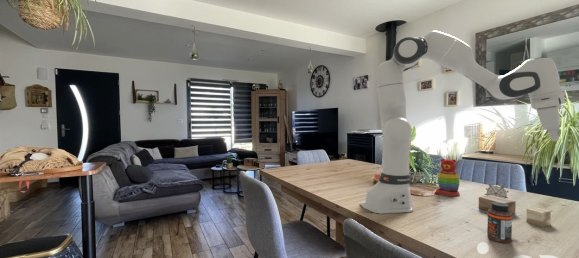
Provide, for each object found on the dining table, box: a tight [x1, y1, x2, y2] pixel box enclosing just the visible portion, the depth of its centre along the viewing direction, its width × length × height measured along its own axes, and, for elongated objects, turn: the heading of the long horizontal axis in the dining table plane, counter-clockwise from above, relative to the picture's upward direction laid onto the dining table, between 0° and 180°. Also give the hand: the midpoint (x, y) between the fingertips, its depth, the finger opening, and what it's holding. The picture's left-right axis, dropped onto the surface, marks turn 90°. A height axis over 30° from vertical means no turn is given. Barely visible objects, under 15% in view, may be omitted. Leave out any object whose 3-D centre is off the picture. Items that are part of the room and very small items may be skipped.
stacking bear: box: [434, 158, 461, 198], centre depth 132 cm, size 11×10×18 cm
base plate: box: [470, 206, 524, 218], centre depth 103 cm, size 12×12×1 cm
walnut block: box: [478, 195, 517, 215], centre depth 103 cm, size 7×9×5 cm
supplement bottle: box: [486, 202, 513, 244], centre depth 82 cm, size 6×6×11 cm
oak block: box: [526, 206, 552, 227], centre depth 91 cm, size 4×4×6 cm
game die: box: [484, 183, 509, 199], centre depth 119 cm, size 9×8×10 cm
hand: (555, 138), depth 94 cm, fingers open, 8 cm apart
